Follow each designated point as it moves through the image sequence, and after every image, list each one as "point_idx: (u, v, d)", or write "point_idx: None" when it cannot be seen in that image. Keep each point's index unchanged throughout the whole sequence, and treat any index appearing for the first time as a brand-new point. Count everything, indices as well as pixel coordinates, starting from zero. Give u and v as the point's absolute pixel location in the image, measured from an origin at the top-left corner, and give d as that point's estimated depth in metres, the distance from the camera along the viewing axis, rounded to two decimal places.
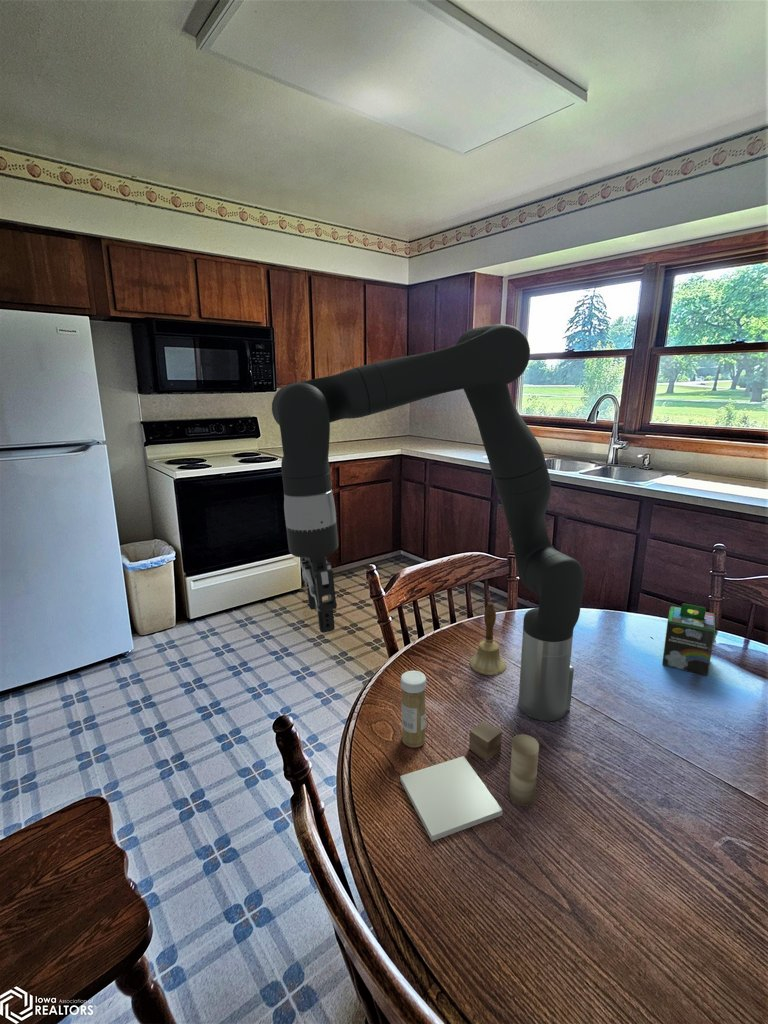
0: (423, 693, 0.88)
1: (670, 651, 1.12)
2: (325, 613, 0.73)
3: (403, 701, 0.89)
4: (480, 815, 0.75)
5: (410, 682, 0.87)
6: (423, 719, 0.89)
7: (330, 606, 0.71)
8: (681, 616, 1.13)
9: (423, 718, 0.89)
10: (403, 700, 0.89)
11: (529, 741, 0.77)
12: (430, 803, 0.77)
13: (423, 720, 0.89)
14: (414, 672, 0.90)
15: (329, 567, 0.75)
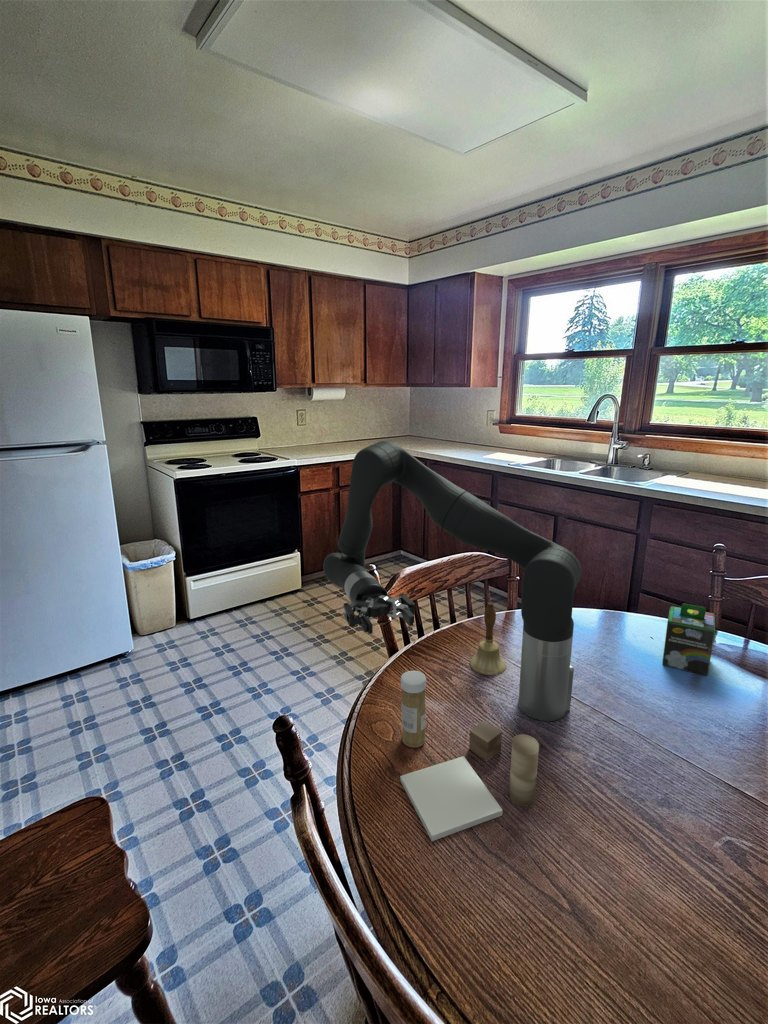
0: (423, 693, 0.88)
1: (670, 651, 1.12)
2: (360, 623, 0.98)
3: (403, 701, 0.89)
4: (480, 815, 0.75)
5: (410, 682, 0.87)
6: (423, 719, 0.89)
7: (349, 618, 0.99)
8: (681, 616, 1.13)
9: (423, 718, 0.89)
10: (403, 700, 0.89)
11: (529, 741, 0.77)
12: (430, 803, 0.77)
13: (423, 720, 0.89)
14: (414, 672, 0.90)
15: (367, 599, 1.03)
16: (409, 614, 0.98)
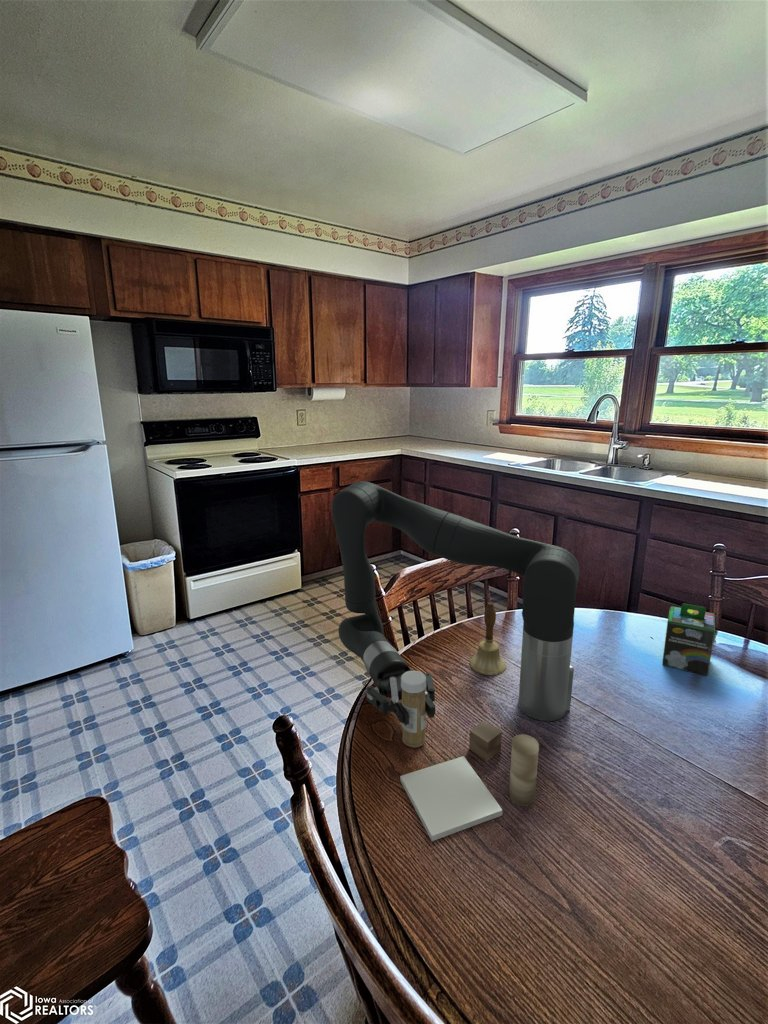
0: (423, 693, 0.88)
1: (670, 651, 1.12)
2: (394, 711, 0.90)
3: (403, 701, 0.89)
4: (480, 815, 0.75)
5: (411, 682, 0.87)
6: (423, 719, 0.89)
7: (382, 705, 0.91)
8: (681, 616, 1.13)
9: (423, 718, 0.89)
10: (403, 700, 0.89)
11: (529, 741, 0.77)
12: (430, 803, 0.77)
13: (423, 720, 0.89)
14: (414, 672, 0.90)
15: (389, 680, 0.96)
16: (429, 705, 0.89)
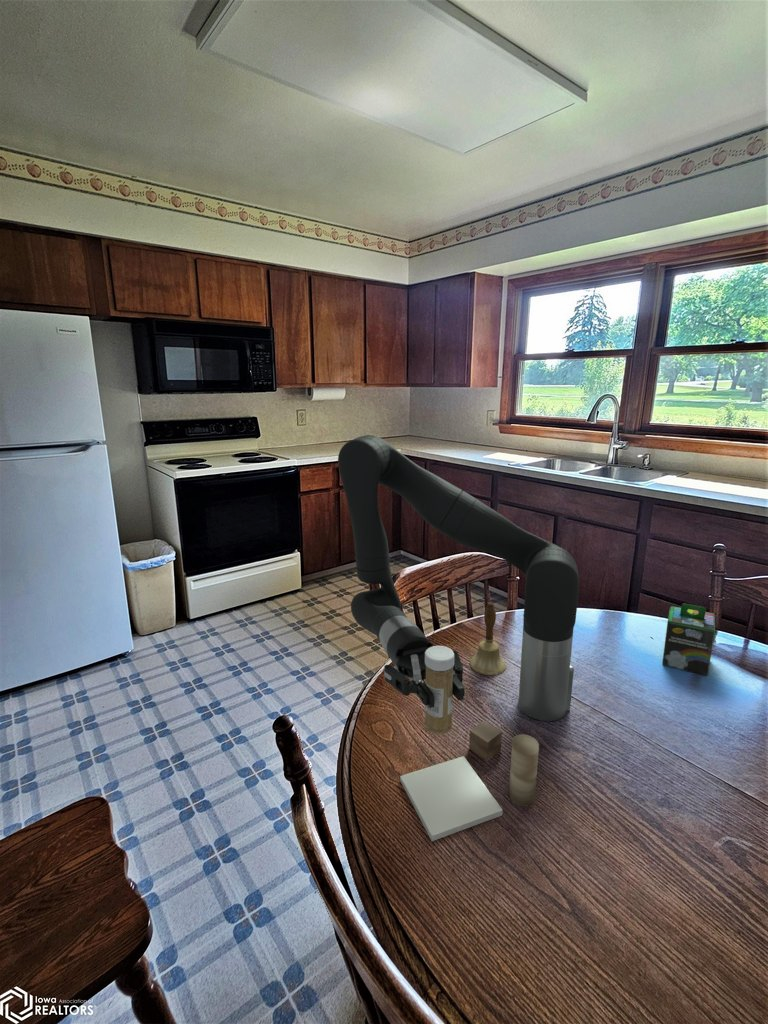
0: (451, 671, 0.76)
1: (670, 651, 1.12)
2: (417, 692, 0.78)
3: (427, 680, 0.77)
4: (480, 815, 0.75)
5: (437, 658, 0.75)
6: (450, 702, 0.77)
7: (402, 685, 0.78)
8: (681, 616, 1.13)
9: (450, 700, 0.77)
10: (427, 679, 0.77)
11: (529, 741, 0.77)
12: (430, 803, 0.77)
13: (450, 703, 0.77)
14: (440, 647, 0.78)
15: (410, 658, 0.83)
16: (458, 685, 0.77)
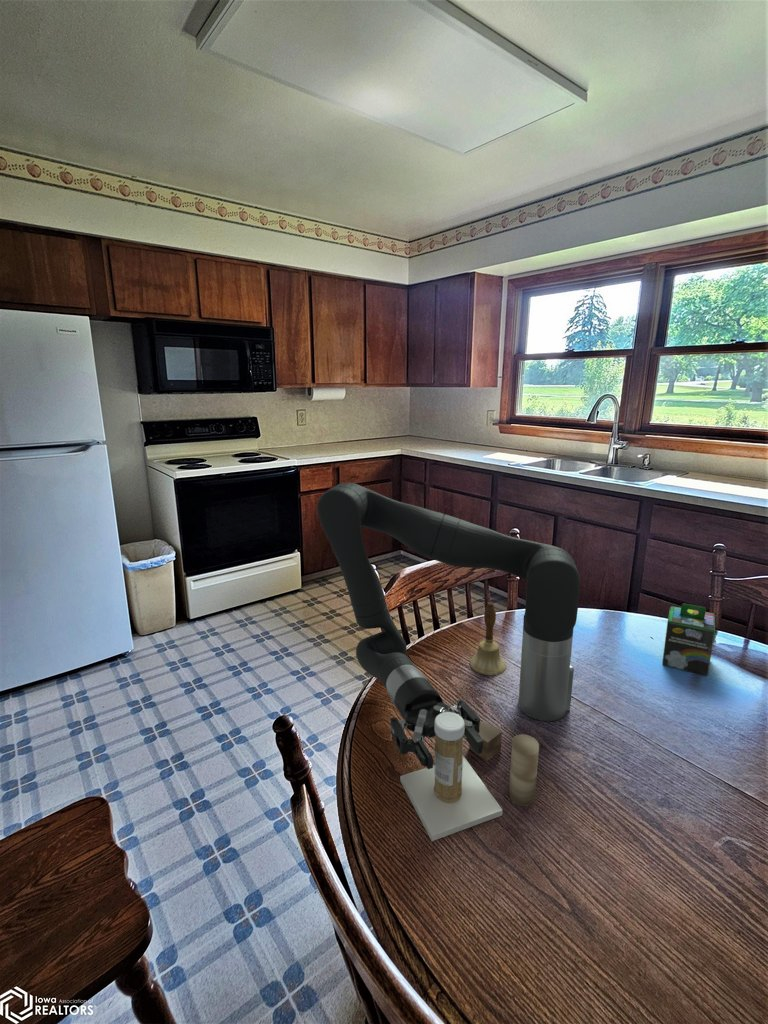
0: (461, 740, 0.75)
1: (670, 651, 1.12)
2: (415, 751, 0.77)
3: (437, 749, 0.76)
4: (480, 815, 0.75)
5: (447, 728, 0.74)
6: (460, 769, 0.77)
7: (400, 744, 0.78)
8: (681, 616, 1.13)
9: (460, 768, 0.76)
10: (437, 747, 0.76)
11: (529, 741, 0.77)
12: (430, 803, 0.77)
13: (460, 771, 0.77)
14: (450, 714, 0.77)
15: None
16: (476, 738, 0.77)
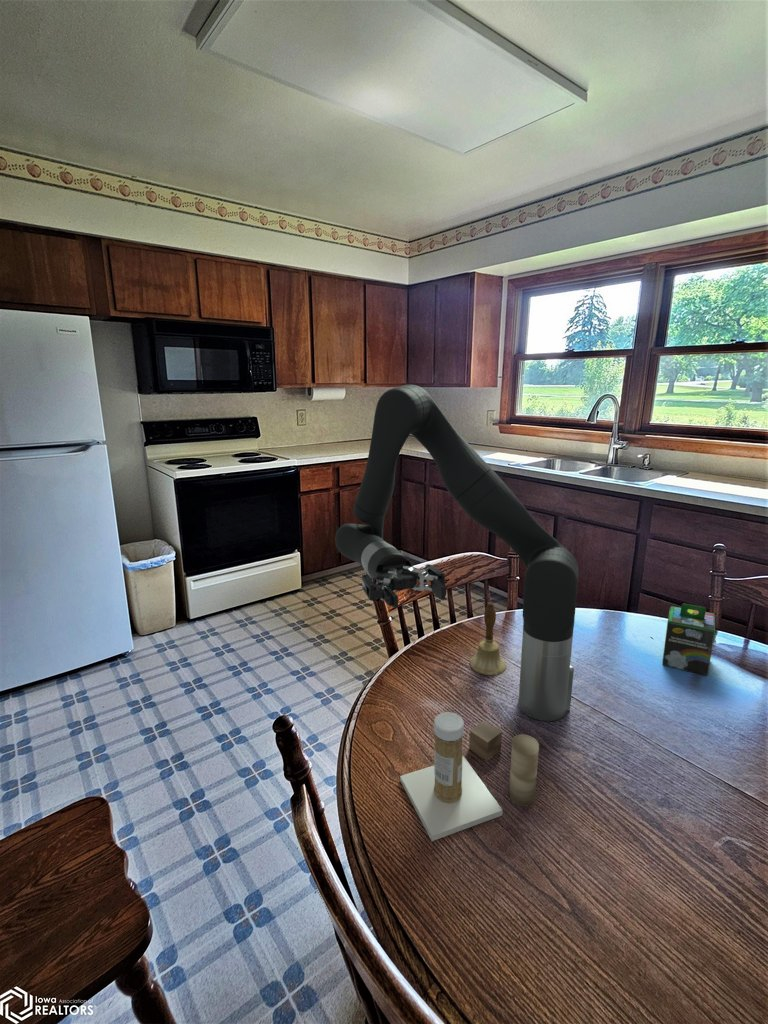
0: (460, 740, 0.75)
1: (670, 651, 1.12)
2: (383, 596, 0.83)
3: (437, 749, 0.76)
4: (480, 815, 0.75)
5: (446, 728, 0.74)
6: (460, 769, 0.77)
7: (369, 591, 0.84)
8: (681, 616, 1.13)
9: (460, 768, 0.76)
10: (437, 748, 0.76)
11: (529, 741, 0.77)
12: (430, 803, 0.77)
13: (460, 771, 0.77)
14: (449, 714, 0.77)
15: (389, 570, 0.89)
16: (440, 585, 0.84)
